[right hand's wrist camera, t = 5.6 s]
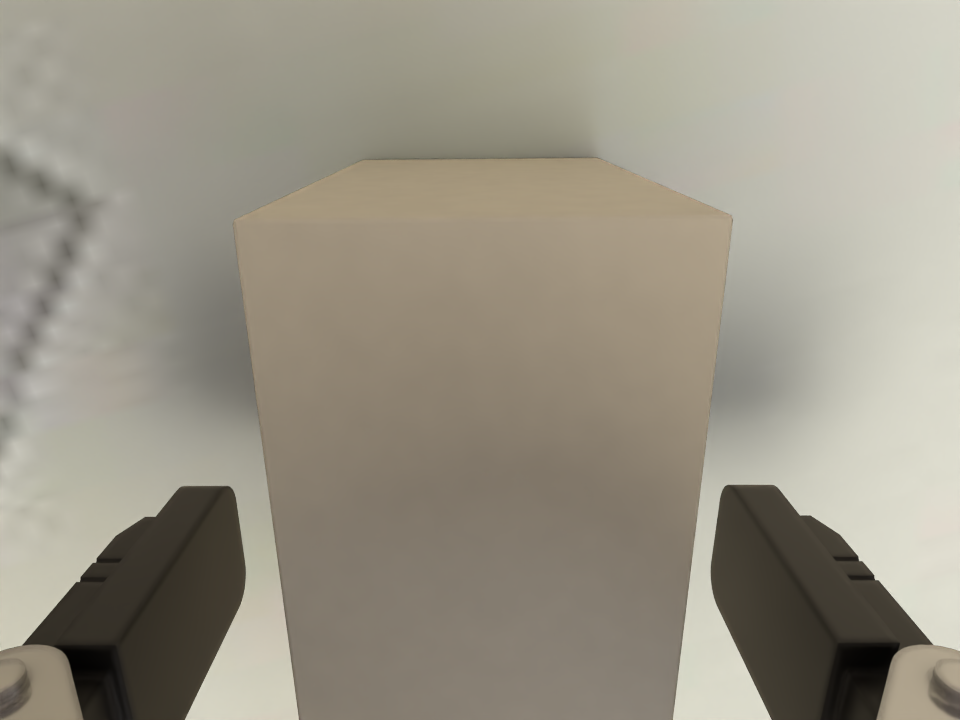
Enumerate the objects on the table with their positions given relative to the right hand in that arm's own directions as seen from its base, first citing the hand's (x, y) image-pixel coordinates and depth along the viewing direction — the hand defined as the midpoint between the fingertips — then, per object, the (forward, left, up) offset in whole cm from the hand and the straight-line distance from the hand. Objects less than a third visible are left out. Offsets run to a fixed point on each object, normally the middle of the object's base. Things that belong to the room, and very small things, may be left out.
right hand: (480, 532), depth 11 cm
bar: (+21, -9, -4) cm, 23 cm away
